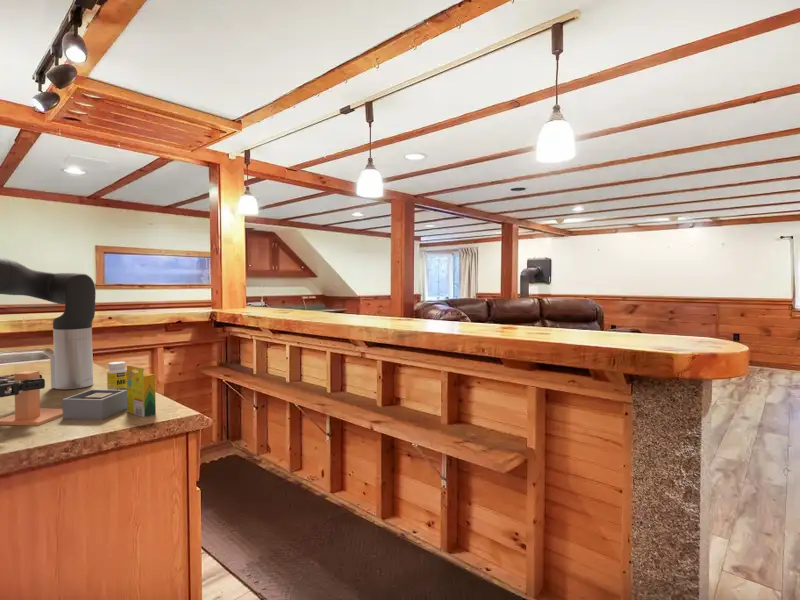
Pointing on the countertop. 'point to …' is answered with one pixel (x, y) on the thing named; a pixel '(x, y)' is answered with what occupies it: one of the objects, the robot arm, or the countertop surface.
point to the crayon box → (140, 392)
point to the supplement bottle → (117, 376)
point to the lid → (30, 405)
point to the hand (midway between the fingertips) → (42, 381)
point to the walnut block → (98, 395)
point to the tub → (94, 405)
